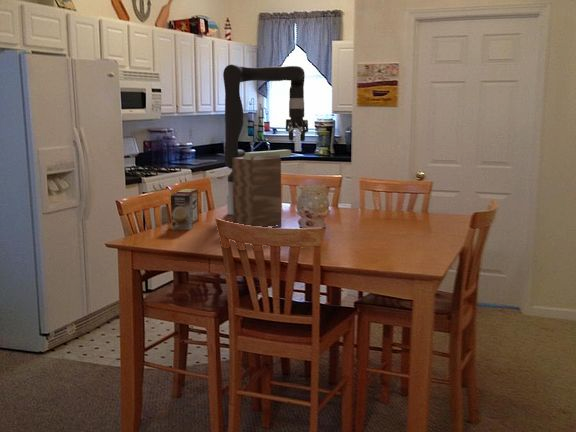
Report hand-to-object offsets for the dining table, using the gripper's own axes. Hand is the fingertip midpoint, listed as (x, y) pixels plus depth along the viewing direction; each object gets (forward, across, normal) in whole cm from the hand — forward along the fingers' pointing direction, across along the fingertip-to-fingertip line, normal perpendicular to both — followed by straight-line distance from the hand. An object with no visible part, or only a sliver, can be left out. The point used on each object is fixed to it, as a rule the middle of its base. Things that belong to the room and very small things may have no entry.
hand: (296, 140), depth 319 cm
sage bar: (+6, +10, -26) cm, 29 cm away
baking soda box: (+38, -23, -50) cm, 67 cm away
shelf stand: (+38, +6, -30) cm, 49 cm away
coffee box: (+38, -12, -60) cm, 72 cm away
